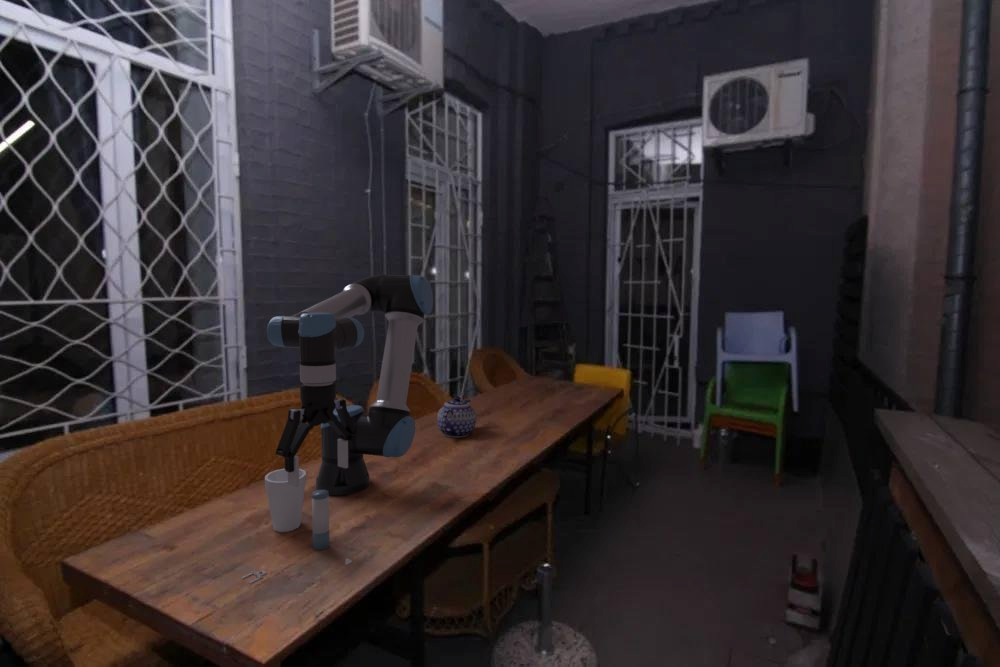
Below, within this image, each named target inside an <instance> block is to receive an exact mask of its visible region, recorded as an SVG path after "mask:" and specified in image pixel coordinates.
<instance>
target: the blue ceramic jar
mask: <svg viewBox="0 0 1000 667" xmlns="http://www.w3.org/2000/svg"><path fill="white" fill-rule="evenodd" d="M453 399H454V400H448V401H445V402H444V404H443V406H441V408H440V409H439V410H438V412H437V416H436V419H437V420H436V424H437V427H438V429H439V430H440V432H441V433H442V434H443V435H444V436H445V437H448V438H457V439H458V438H465V437H468V436H469V435H470V433H472V432H473V431H474V430H475V427H476V424H477V414H476V411H475V410H474V408H473V407H472V406H471V404H470V403H471V399H467V398H465V399H464V400H461V399H462V398H461V397H460V396H455V397H453Z"/></svg>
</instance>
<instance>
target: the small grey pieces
mask: <svg viewBox="0 0 1000 667" xmlns="http://www.w3.org/2000/svg"><path fill="white" fill-rule="evenodd" d="M344 561H345V562H344V563H345V565H346V566H347V565H349V564H350V563H352V562H353V560H351V559H350V558H347V557H346V558H345V560H344ZM261 572H262V573H261ZM252 574H254V576H255V577H257V578H253V579H252V580H250V581H248V585H251V584H253V583H256V582H257V581H259V580H261V579H263V576H265V575H267V574H268V572H267V571H265V570H264V569H261V570H259V571H257V572H256V571H255V570H253V571H251V573H248V574H245V575H244V576H241V578H240V580H244V579H246V578H249V577H251V576H253V575H252ZM250 575H251V576H250Z"/></svg>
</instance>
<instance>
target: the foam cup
mask: <svg viewBox="0 0 1000 667" xmlns="http://www.w3.org/2000/svg"><path fill="white" fill-rule="evenodd" d="M306 484H307V471H306V470H304V469H302V468H299V486H298V487H294V486H291V485H288V472H287V471H286V470H285V468H281V469H276V470H272V471H270V472H268V473H267V474H266V475H265V476H264V489H265V490H266V496H267V501H268V502H267V503H268V507H269V513H270V519H271V524H272V527H273V528H272V529H273V530H274V531H275V532H280V533H288V532H290V531H292V532H293V531H294V529H295V530H296V528H297V529H298V528H299V527H300V526H301V524H302V523H301V522H302V517H303V516H302V515H303V508H304V501H305V500H304V499H305V489H306Z"/></svg>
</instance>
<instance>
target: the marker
mask: <svg viewBox="0 0 1000 667" xmlns="http://www.w3.org/2000/svg"><path fill="white" fill-rule="evenodd" d="M329 498H330V495H329V492H328V491H327V490H317V489H316V490H314V491H312V493H311V517H312V518H311V520H312V522H311V524H312V550H314V551H317V552H318V551H319V552H320V551H325V550H327V549H329V548H330V501H329V500H330V499H329Z"/></svg>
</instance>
